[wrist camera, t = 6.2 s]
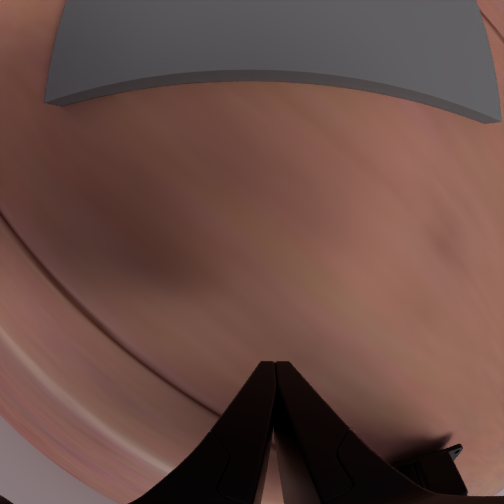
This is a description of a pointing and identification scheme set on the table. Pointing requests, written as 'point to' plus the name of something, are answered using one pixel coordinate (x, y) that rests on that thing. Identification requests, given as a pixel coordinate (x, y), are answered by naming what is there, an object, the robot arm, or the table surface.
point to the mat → (279, 48)
